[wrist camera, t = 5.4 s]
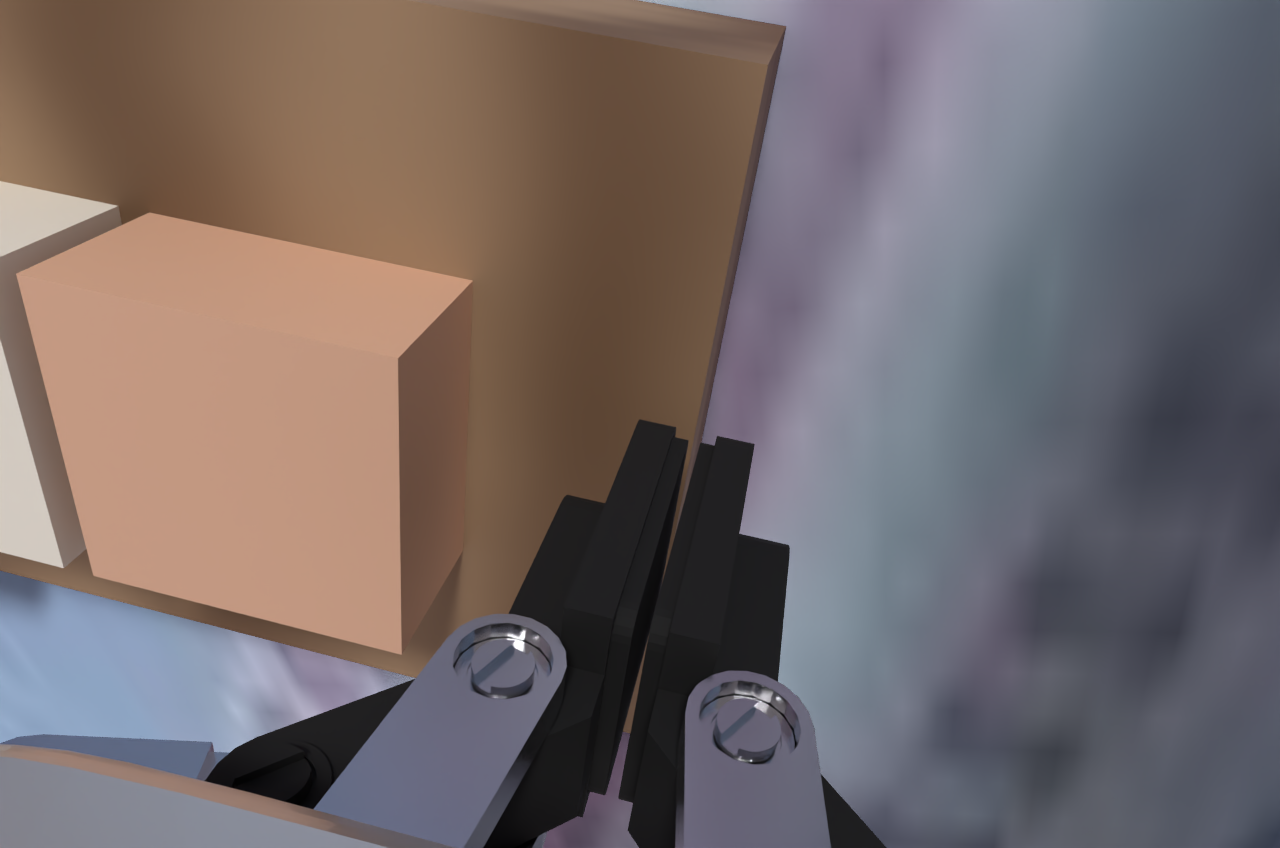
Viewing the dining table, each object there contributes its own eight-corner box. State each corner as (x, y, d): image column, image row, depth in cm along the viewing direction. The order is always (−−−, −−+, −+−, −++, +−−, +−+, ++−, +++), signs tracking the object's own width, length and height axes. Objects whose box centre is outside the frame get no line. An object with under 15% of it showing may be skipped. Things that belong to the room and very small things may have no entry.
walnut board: (786, 26, 13) (768, 64, 10) (667, 608, 20) (635, 734, 17) (-157, -139, 15) (-402, -146, 12) (14, 449, 21) (-120, 539, 18)
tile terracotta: (472, 280, 13) (397, 358, 11) (463, 549, 15) (401, 654, 13) (149, 212, 13) (16, 274, 11) (193, 484, 16) (94, 575, 14)
